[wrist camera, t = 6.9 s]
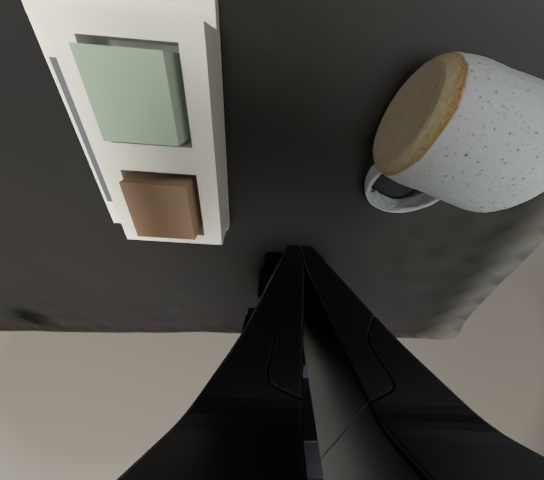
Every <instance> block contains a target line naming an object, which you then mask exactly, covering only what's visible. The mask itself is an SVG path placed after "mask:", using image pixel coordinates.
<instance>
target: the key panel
mask: <svg viewBox="0 0 544 480" xmlns="http://www.w3.org/2000/svg"><path fill="white" fill-rule="evenodd" d="M21 1H22V3H23V6H24V8H25V11H26V13H27V15H28V18H29V20H30V23H31V25H32V27H33V30H34V32H35V35H36V37H37V39H38V42H39V44H40V47H41V49H42V51H43V54H44V56H45V59H46V61H47V63H48V66H49V68H50V71H51V73H52V76H53V78H54V80H55V83H56V85H57V88H58V90H59V92H60V95H61V97H62V100H63V102H64V104H65V107H66V109H67V112H68V114H69V116H70V119H71V121H72V124H73V126H74V128H75V131H76V133H77V136H78V138H79V140H80V143H81V145H82V148H83V150H84V152H85V155H86V157H87V160H88V162H89V165H90V167H91V169H92V172H93V174H94V177H95V179H96V181H97V184H98V186H99V189H100V191H101V193H102V196H103V198H104V201H105V203H106V205H107V208H108V210H109V213H110V215H111V217H112V220H113V222H114V223H121V224H122V227H123V229H124V232H125V234H126V237H127V239H132V240H148V241H164V242H180V243H196V244H213V245H222V243H223V240H224V237H225V234H226V230H228V229H229V226H230V218H229V199H228V179H227V160H226V141H225V121H224V102H223V83H222V63H221V44H220V25H219V5H218V0H21ZM69 42H71V43H82V44H94V45H105V46H117V47H129V48H140V49H152V50H163V51H169V52H175V53H180V60H181V67H182V75H183V82H184V89H185V97H186V104H187V111H188V119H189V126H190V133H191V137H190V138H189V139H188V140H186V141H185V142H184V143H183V144H181V145H180V146H167V145H154V144H141V143H127V142H114V141H104V140H103V138H102V135H101V132H100V129H99V126H98V123H97V121H96V118H95V115H94V112H93V109H92V107H91V104H90V101H89V98H88V95H87V93H86V90H85V87H84V84H83V81H82V78H81V76H80V73H79V70H78V67H77V64H76V62H75V59H74V56H73V53H72V50H71V48H70V45H69ZM134 171H144V172H158V173H173V174H187V175H196V177H197V185H198V192H199V199H200V207H201V214H202V221H203V224H202V226H201V228H200V230H199V232H198V235H197V237H196V239H195V240H192V239H176V238H160V237H144V236H138V235H137V232H136V229H135V226H134V224H133V221H132V218H131V215H130V212H129V209H128V207H127V204H126V201H125V198H124V195H123V193H122V190H121V187H120V184H119V182H120V181H121V180H123V179H124V178H126V177H127V176H128V175H130V174H131V173H133V172H134Z"/></svg>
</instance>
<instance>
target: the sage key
mask: <svg viewBox="0 0 544 480" xmlns="http://www.w3.org/2000/svg"><path fill="white" fill-rule="evenodd" d="M69 45H70V48H71V50H72V53H73V56H74V59H75V62H76V64H77V67H78V70H79V73H80V76H81V78H82V81H83V84H84V87H85V90H86V93H87V95H88V98H89V101H90V104H91V107H92V109H93V112H94V115H95V118H96V121H97V123H98V126H99V129H100V132H101V135H102V138H103V140H104V141H114V142H127V143H141V144H154V145H167V146H180V145H181V144H183V143H184V142H185V141H186V140H188V139H189V138H190V137H191V133H190V126H189V119H188V111H187V104H186V97H185V89H184V82H183V75H182V67H181V60H180V53H175V52H169V51H163V50H152V49H140V48H129V47H117V46H105V45H94V44H82V43H71V42H69Z"/></svg>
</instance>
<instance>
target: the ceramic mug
mask: <svg viewBox="0 0 544 480" xmlns="http://www.w3.org/2000/svg"><path fill="white" fill-rule="evenodd" d="M373 159H374V163H375V164H374V165H373V166H372V167H371V168H370V170H369V172H368V174H367V176H366V178H365V195H366V198H367V200H368V202H369V203H370V204H371V205H373V206H374V207H375V208H377V209H380V210H382V211H386V212H392V213H404V212H410V211H414V210H418V209H421V208H424V207H427V206H430V205H432V204H434V203H436V202H438V201H440V200H442V201H445V202H447V203H449V204H452V205H454V206H456V207H459V208H462V209H465V210H469V211H474V212H493V211H498V210H503V209H507V208H510V207H513V206H515V205H518V204H521V203H523V202H525V201H528V200H530V199H532V198H534V197H535V196H537V195H539V194H541V193H542V192H544V80H542V79H539V78H537V77H534V76H531V75H529V74H526V73H524V72H521V71H518V70H515V69H512V68H509V67H507V66H505V65H503V64H501V63H499V62H496V61H494V60H492V59H490V58H487V57H484V56H480V55H476V54H468V53H462V52H448V53H444V54H441V55H439V56H437V57H435V58H433V59H431V60H430V61H428V62H426V63H425V64H424V65H423V66H421V67H420V68H419V69H417V70H416V71H415V72H414V73H413V74H412V75H411V76H410V78H409V79H408V80H407V81H406V82H405V83H404V84H403V86H402V87H401V88H400V89H399V91H398V92H397V94H396V95H395V97H394V98H393V100H392V101H391V103H390V104H389V106H388V108H387V110H386V112H385V114H384V116H383V118H382V120H381V122H380V125H379V127H378V129H377V133H376V136H375V139H374V145H373ZM381 174H383V175H385V176H386V177H388V178H390V179H391V180H393V181H395V182H397V183H399V184H402V185H404V186H407V187H409V188H413V189H416V190H419V191H421V192H422V193H420V194H417V195H414V196H411V197H407V198H402V199H392V198H389V197H387V196H385V195H383V194H380V193H379V192H378V191H377V190H374V189H371V188H372V185H373V184H374V182H375V181H376V179H377V178H378V177H379V176H380V175H381Z"/></svg>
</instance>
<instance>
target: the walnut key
mask: <svg viewBox="0 0 544 480" xmlns="http://www.w3.org/2000/svg"><path fill="white" fill-rule="evenodd" d="M119 184H120V187H121V190H122V193H123V195H124V198H125V201H126V204H127V207H128V209H129V212H130V215H131V218H132V221H133V224H134V226H135V229H136V232H137V235H138V236H144V237H160V238H176V239H192V240H195V239H196V237H197V235H198V232H199V230H200V228H201V226H202V224H203V221H202V214H201V207H200V199H199V192H198V185H197V177H196V175H187V174H173V173H158V172H144V171H134V172H133V173H131V174H130V175H128V176H127V177H126V178H124V179H123V180H121V181H120V182H119Z"/></svg>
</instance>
